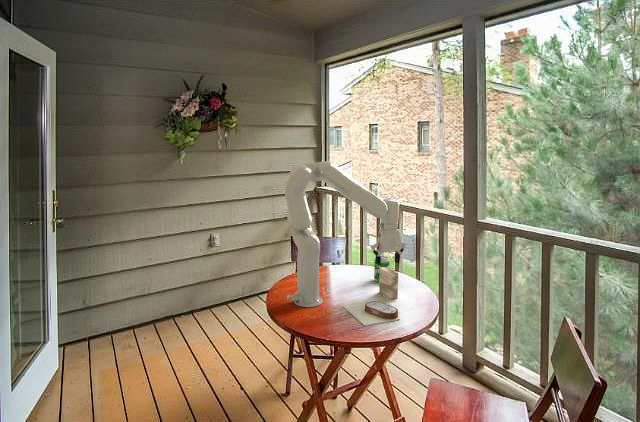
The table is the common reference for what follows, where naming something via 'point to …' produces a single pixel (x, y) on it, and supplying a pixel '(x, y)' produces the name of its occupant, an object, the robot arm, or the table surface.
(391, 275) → the beige box
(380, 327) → the table surface
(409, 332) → the table surface
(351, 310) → the mat
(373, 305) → the tin
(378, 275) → the soda can
